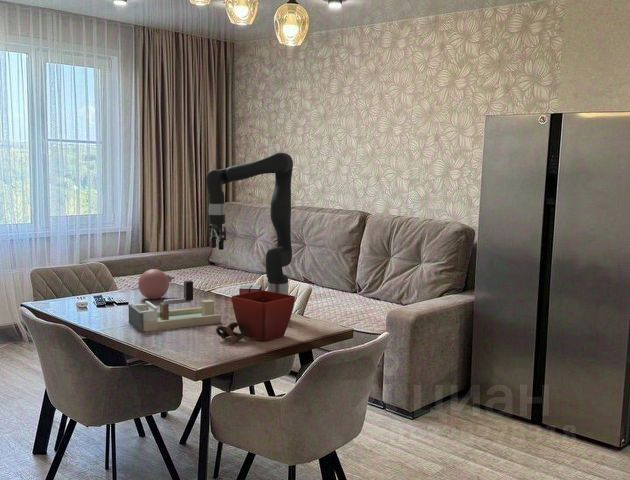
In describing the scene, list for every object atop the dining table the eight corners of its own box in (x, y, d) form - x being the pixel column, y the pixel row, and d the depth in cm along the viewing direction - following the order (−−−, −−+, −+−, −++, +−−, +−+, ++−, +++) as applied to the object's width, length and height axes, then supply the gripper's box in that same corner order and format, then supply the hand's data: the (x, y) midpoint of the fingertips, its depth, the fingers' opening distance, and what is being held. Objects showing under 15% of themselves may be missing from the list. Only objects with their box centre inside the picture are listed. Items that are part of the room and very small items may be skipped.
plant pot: (262, 327, 274) (262, 289, 272) (295, 335, 262) (296, 296, 260) (229, 336, 259) (230, 296, 257) (263, 345, 247) (264, 303, 245)
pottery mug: (242, 337, 260) (248, 322, 256) (241, 353, 252) (247, 338, 248) (214, 331, 257) (219, 316, 253) (212, 347, 249) (217, 331, 245)
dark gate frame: (193, 317, 281) (193, 281, 279) (163, 320, 274) (163, 284, 272) (190, 315, 285) (189, 280, 283) (159, 318, 278) (159, 282, 276)
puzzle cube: (259, 309, 308) (259, 289, 307) (239, 308, 308) (239, 288, 307) (261, 304, 318) (261, 285, 317) (241, 304, 318) (242, 284, 317)
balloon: (182, 298, 329) (182, 269, 327) (147, 303, 315) (147, 272, 313) (167, 293, 340) (167, 265, 338) (133, 298, 326) (132, 268, 325)
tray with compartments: (221, 322, 281) (221, 302, 279) (139, 332, 262) (139, 310, 261) (206, 313, 296) (206, 294, 295) (128, 322, 278) (128, 301, 276)
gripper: (230, 214, 286) (231, 249, 287) (218, 212, 298) (218, 246, 299) (215, 214, 282) (215, 250, 283) (203, 212, 294) (203, 247, 295)
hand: (217, 248), depth 291 cm, fingers open, 8 cm apart
